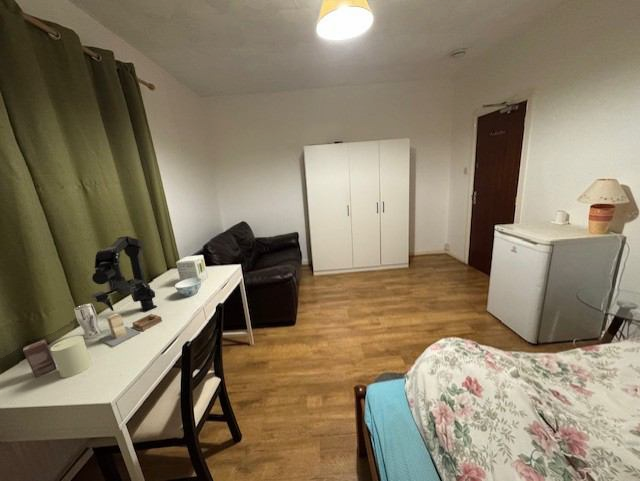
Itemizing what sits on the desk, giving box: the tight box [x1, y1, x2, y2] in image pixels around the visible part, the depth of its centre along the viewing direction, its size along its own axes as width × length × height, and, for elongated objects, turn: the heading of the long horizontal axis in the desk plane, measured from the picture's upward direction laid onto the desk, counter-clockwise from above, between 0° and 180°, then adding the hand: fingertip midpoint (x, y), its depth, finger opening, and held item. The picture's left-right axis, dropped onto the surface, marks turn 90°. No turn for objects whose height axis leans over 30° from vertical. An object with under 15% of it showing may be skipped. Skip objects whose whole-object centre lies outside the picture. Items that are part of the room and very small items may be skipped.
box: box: [22, 339, 58, 378], centre depth 98 cm, size 6×4×12 cm
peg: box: [106, 313, 127, 339], centre depth 117 cm, size 4×4×10 cm
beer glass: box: [73, 302, 102, 340], centre depth 121 cm, size 7×7×15 cm
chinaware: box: [174, 278, 202, 297], centre depth 159 cm, size 15×15×8 cm
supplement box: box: [175, 254, 209, 284], centre depth 179 cm, size 13×13×18 cm
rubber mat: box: [98, 325, 141, 348], centre depth 119 cm, size 14×11×1 cm
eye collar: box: [132, 313, 163, 332], centre depth 127 cm, size 9×9×2 cm
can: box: [49, 335, 93, 379], centre depth 97 cm, size 9×9×12 cm
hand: (124, 306), depth 121 cm, fingers open, 9 cm apart
